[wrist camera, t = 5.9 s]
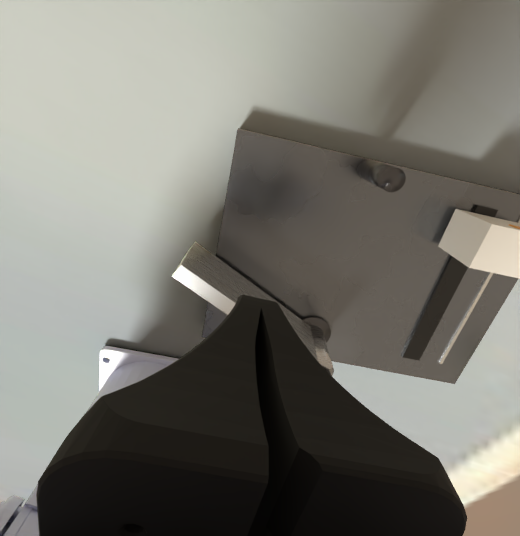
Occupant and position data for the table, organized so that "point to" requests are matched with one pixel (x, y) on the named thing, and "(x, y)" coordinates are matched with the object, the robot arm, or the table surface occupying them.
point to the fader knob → (483, 242)
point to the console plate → (361, 253)
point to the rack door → (231, 287)
